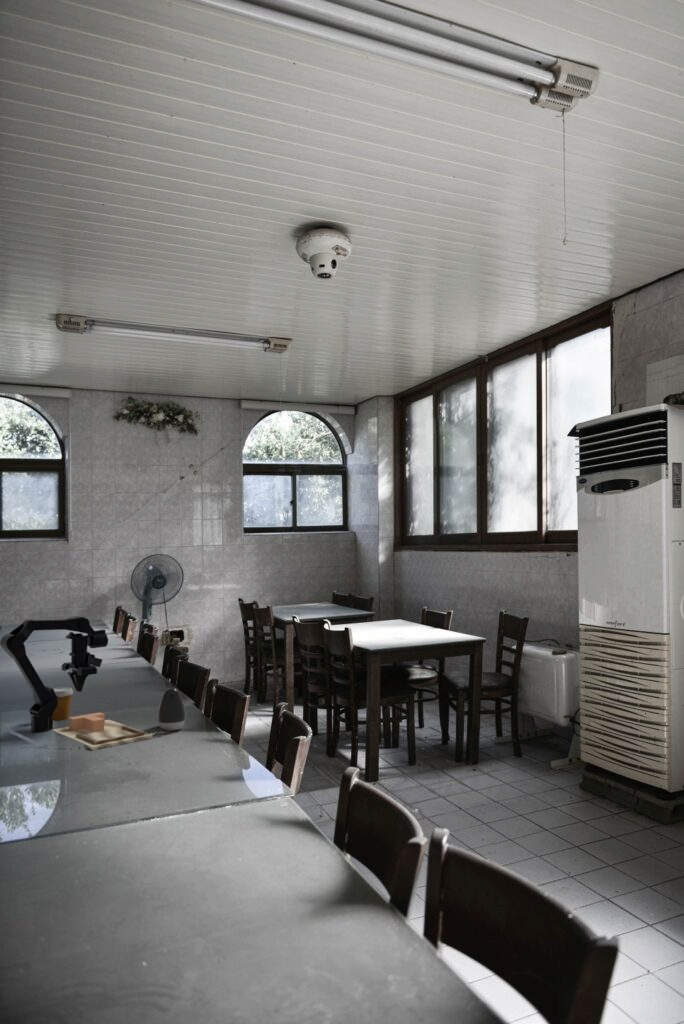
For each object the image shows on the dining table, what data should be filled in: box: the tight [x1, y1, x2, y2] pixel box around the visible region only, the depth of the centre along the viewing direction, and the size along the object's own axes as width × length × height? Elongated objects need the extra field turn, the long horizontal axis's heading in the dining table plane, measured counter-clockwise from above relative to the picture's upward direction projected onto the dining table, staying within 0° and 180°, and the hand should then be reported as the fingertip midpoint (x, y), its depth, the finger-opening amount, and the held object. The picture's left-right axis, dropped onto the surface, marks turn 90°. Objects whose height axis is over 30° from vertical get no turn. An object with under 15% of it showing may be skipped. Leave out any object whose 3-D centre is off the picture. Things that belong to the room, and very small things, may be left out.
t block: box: [68, 712, 106, 732], centre depth 266 cm, size 12×12×4 cm
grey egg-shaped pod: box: [157, 687, 187, 732], centre depth 267 cm, size 10×10×15 cm
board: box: [52, 719, 154, 751], centre depth 260 cm, size 22×34×2 cm, turn 43°
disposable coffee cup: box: [52, 686, 74, 722], centre depth 284 cm, size 10×10×12 cm
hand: (79, 691), depth 274 cm, fingers closed
